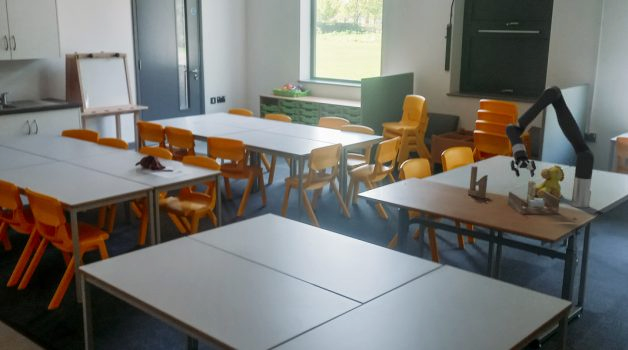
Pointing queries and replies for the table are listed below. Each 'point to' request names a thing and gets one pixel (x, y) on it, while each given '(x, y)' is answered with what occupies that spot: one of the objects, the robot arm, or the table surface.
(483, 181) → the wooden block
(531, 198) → the tan wooden bar
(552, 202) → the brown wooden tray
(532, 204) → the grey offcut
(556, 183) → the yellow stuffed toy
